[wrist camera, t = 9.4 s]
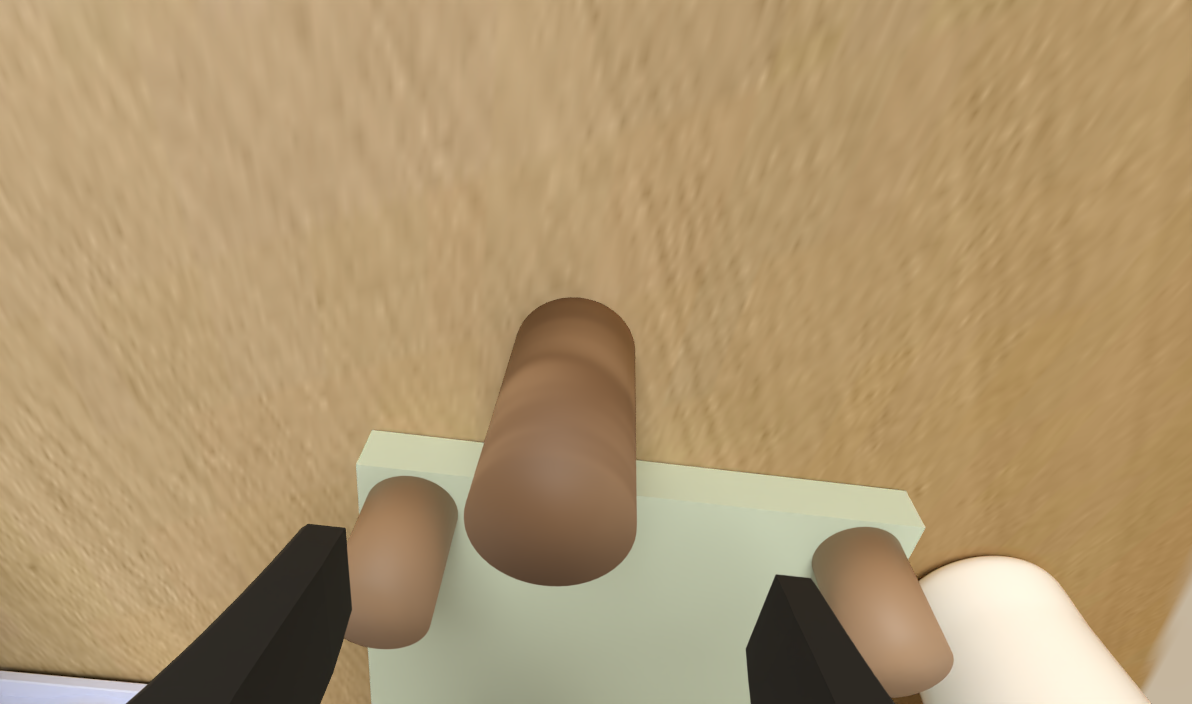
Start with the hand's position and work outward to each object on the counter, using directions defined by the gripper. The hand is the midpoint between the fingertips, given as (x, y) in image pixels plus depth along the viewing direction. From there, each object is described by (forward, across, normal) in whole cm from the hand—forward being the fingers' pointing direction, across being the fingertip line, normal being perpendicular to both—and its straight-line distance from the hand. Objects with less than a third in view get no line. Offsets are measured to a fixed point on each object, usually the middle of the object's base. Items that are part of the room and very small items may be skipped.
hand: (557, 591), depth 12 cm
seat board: (+8, -2, +14) cm, 16 cm away
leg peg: (+8, 0, 0) cm, 8 cm away
